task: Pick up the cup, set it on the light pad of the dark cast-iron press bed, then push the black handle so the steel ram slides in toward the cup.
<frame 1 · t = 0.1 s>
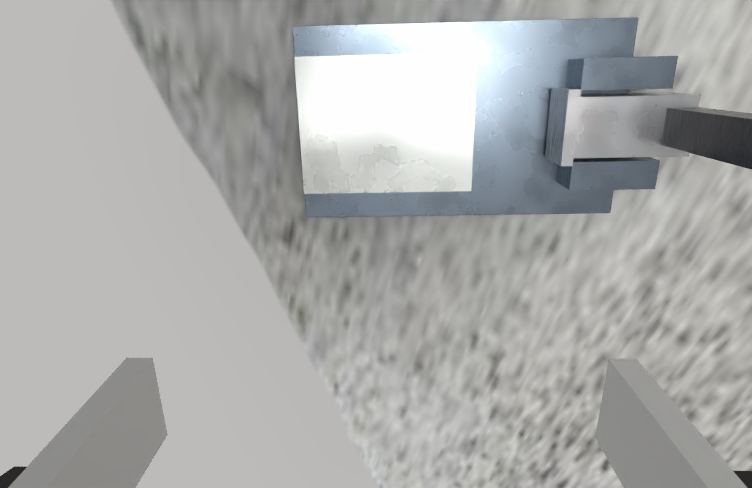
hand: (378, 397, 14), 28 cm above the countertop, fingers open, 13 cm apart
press: (468, 121, 39), on the countertop
ram: (683, 138, 27), point 12 cm above the countertop, slide at 0.0 cm
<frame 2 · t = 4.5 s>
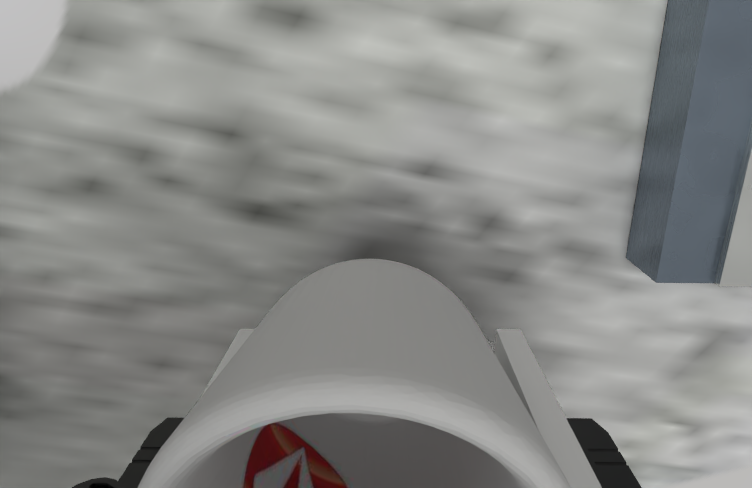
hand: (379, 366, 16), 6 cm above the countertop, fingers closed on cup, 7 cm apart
cup: (401, 366, 16), point 5 cm above the countertop, touching gripper
when the fingers open (3 cm above the countertop, at t = 8.2 s): cup stays where it is, resting on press.
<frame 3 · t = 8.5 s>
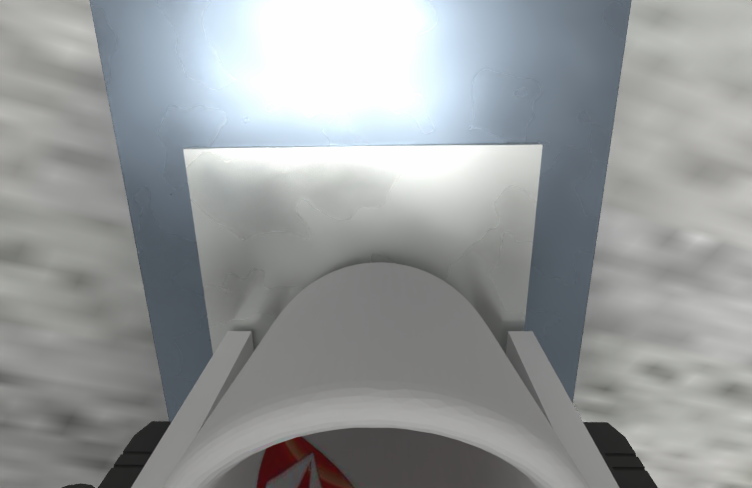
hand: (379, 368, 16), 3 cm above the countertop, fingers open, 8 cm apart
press: (365, 134, 16), on the countertop
cup: (408, 369, 16), point 3 cm above the countertop, touching gripper, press
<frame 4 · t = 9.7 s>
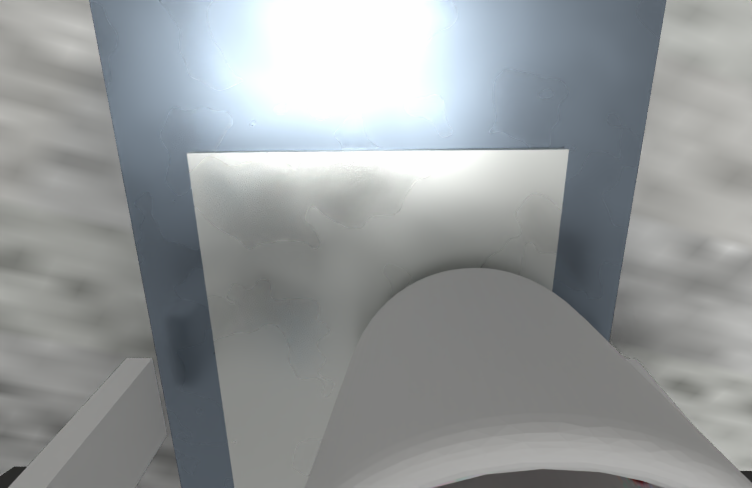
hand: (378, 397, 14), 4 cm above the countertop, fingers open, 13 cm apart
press: (377, 137, 15), on the countertop
cup: (492, 382, 15), point 3 cm above the countertop, touching gripper, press
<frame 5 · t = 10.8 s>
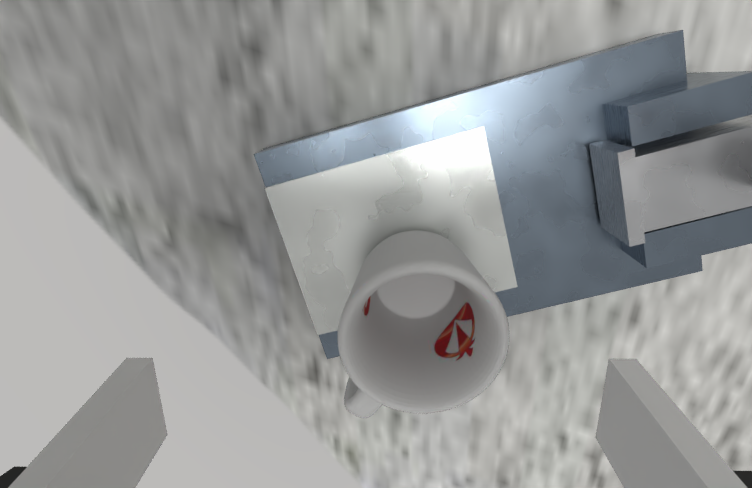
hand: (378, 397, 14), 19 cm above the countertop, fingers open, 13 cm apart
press: (492, 199, 31), on the countertop
cup: (402, 292, 30), point 3 cm above the countertop, touching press
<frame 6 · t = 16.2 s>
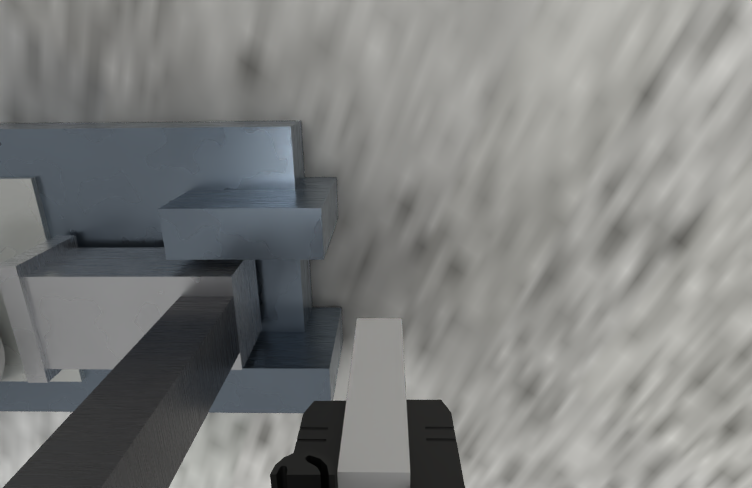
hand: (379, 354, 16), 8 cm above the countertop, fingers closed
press: (93, 264, 25), on the countertop
ram: (27, 429, 13), point 12 cm above the countertop, slide at 4.9 cm, touching hand
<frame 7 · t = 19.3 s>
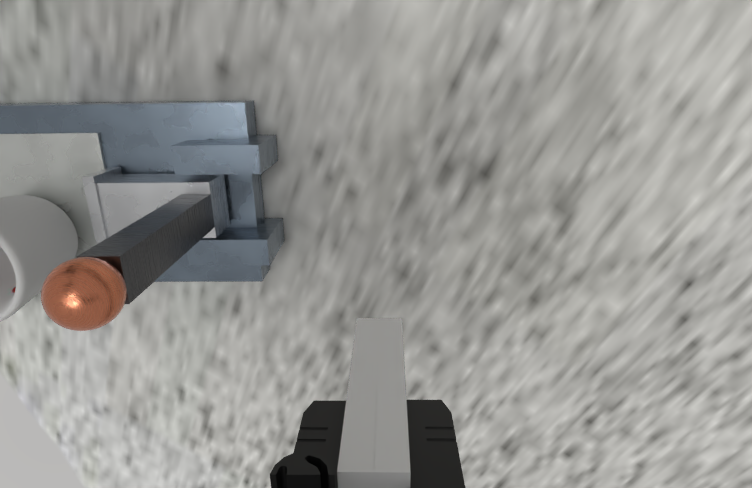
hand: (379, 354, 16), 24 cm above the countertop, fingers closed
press: (128, 191, 40), on the countertop
ram: (111, 237, 28), point 12 cm above the countertop, slide at 4.9 cm
cup: (34, 243, 39), point 3 cm above the countertop, touching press
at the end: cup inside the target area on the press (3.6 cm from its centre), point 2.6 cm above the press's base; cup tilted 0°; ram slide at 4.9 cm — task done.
